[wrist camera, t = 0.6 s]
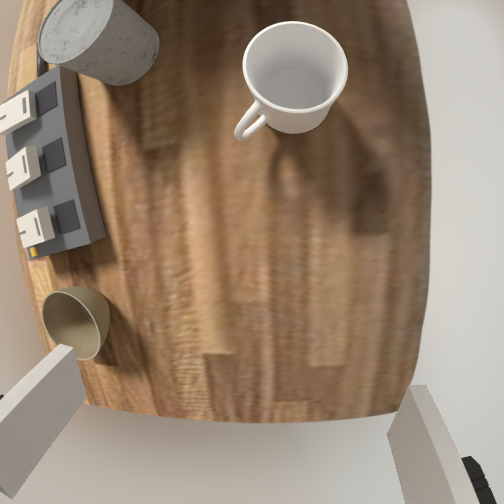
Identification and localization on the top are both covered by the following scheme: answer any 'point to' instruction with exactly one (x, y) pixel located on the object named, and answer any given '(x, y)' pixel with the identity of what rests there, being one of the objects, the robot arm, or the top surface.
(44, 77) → the power strip
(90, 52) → the grey concrete cylinder
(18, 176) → the block
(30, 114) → the rocker
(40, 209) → the rocker
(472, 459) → the robot arm
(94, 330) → the flower pot
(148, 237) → the top surface
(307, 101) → the mug
